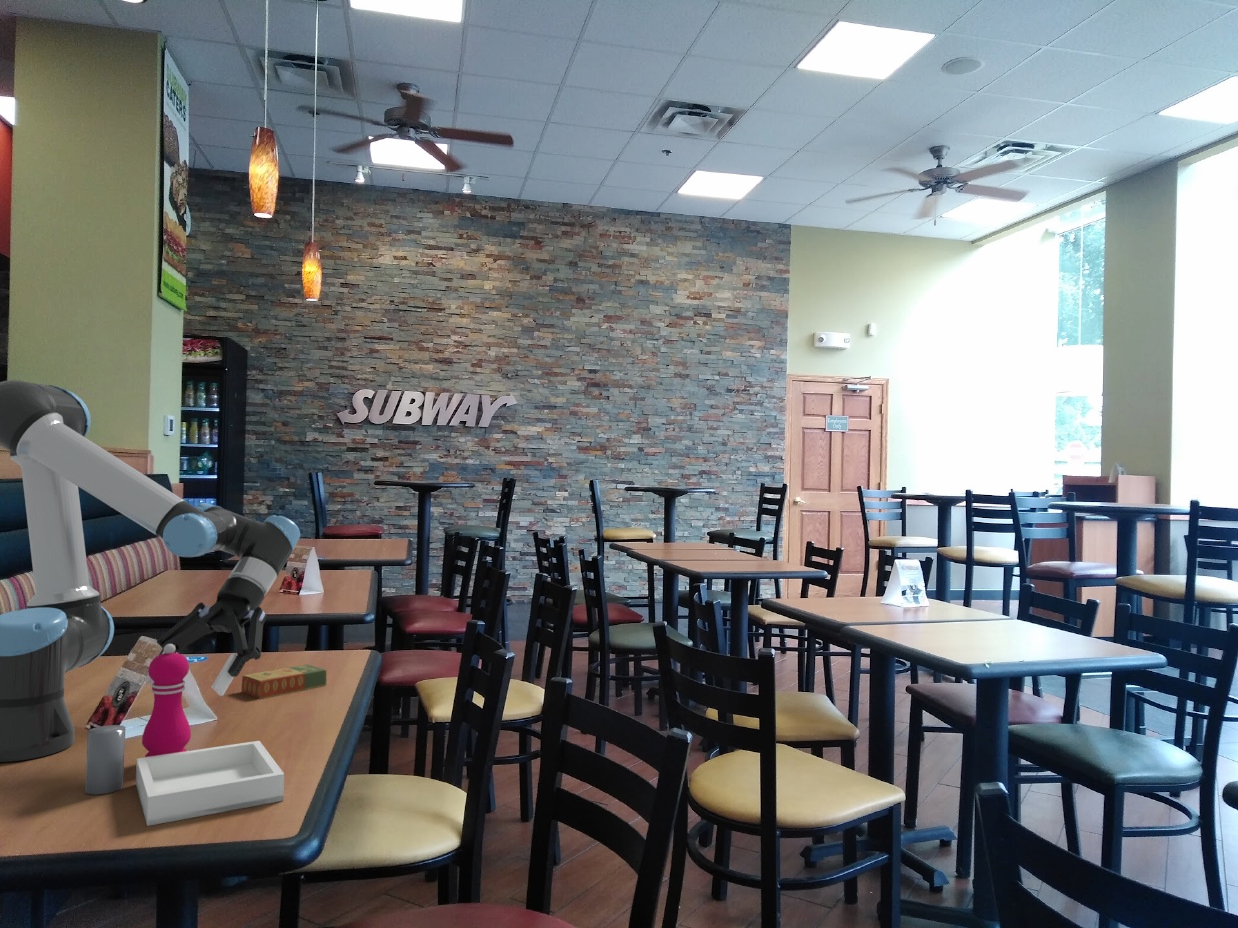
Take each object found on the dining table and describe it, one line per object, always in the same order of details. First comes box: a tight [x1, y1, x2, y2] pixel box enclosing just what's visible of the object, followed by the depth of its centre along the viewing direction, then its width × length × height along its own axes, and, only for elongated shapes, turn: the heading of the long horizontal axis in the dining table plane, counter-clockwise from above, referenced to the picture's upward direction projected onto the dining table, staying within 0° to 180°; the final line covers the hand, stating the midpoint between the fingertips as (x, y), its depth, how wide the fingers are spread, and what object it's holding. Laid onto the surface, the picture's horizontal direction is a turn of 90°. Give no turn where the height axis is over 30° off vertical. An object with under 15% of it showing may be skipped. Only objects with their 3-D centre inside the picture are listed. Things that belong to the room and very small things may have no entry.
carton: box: [241, 664, 328, 700], centre depth 190 cm, size 8×16×4 cm, turn 141°
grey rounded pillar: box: [84, 724, 126, 796], centre depth 130 cm, size 5×5×9 cm
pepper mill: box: [141, 644, 192, 757], centre depth 141 cm, size 7×7×20 cm
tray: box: [135, 740, 285, 827], centre depth 130 cm, size 18×18×4 cm
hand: (183, 687), depth 143 cm, fingers open, 13 cm apart
